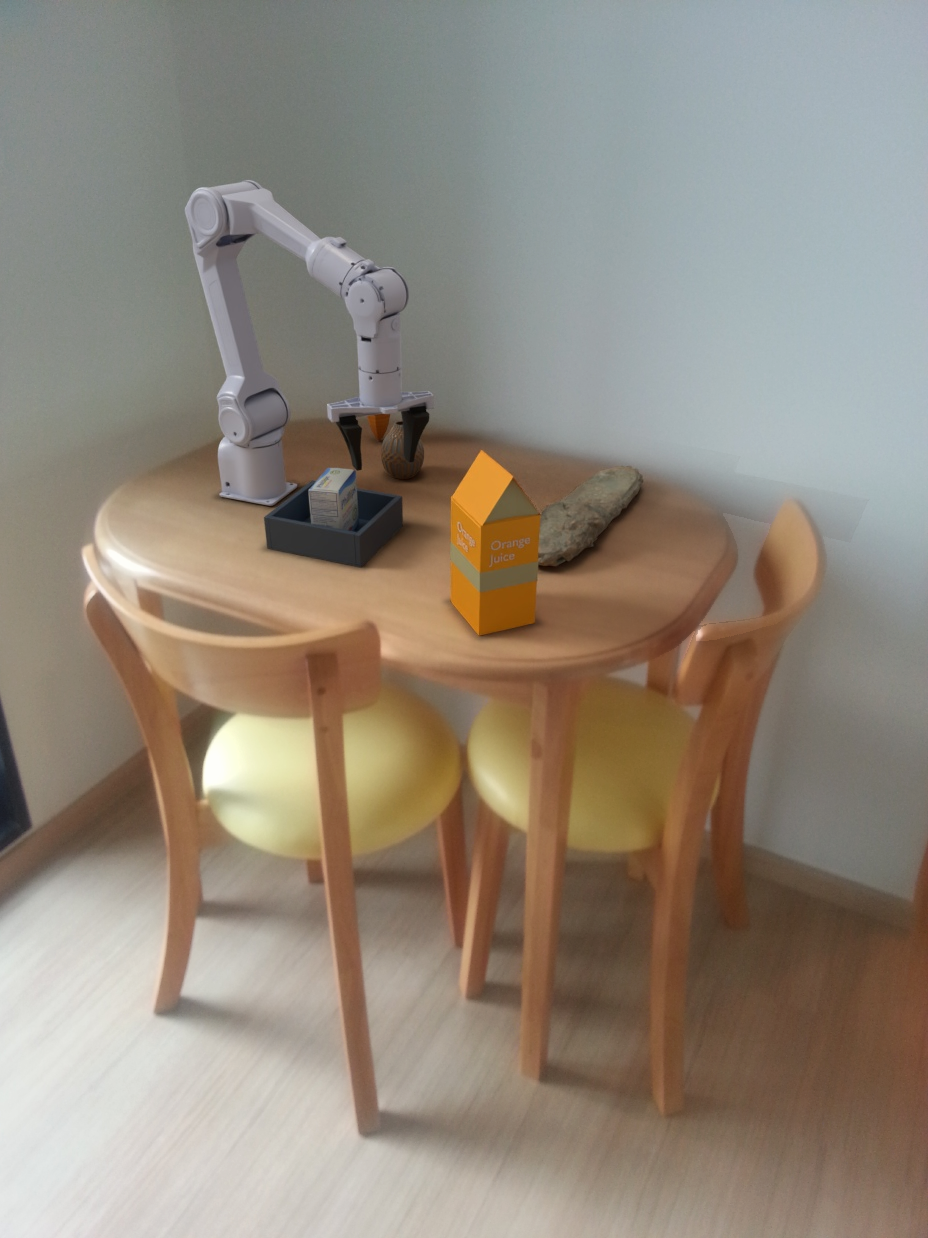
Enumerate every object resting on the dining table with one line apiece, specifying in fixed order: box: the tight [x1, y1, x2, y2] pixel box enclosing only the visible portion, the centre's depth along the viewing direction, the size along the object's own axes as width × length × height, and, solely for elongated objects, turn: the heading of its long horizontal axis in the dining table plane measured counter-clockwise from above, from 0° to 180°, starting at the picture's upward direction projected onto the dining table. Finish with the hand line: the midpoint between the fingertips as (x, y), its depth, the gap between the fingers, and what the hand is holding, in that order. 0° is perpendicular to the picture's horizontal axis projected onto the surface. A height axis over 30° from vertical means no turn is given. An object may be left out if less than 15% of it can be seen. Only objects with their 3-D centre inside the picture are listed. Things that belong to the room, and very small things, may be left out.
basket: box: [263, 480, 404, 568], centre depth 136 cm, size 15×14×5 cm
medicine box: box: [309, 467, 359, 532], centre depth 134 cm, size 8×4×9 cm, turn 168°
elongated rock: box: [538, 465, 644, 567], centre depth 141 cm, size 35×5×10 cm
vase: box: [380, 419, 425, 480], centre depth 154 cm, size 7×7×9 cm
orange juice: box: [449, 449, 541, 636], centre depth 115 cm, size 8×9×20 cm
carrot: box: [366, 414, 391, 442], centre depth 165 cm, size 5×5×15 cm
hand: (383, 463), depth 134 cm, fingers open, 7 cm apart
